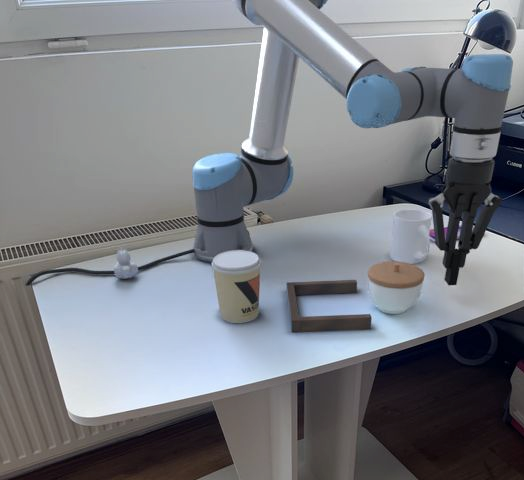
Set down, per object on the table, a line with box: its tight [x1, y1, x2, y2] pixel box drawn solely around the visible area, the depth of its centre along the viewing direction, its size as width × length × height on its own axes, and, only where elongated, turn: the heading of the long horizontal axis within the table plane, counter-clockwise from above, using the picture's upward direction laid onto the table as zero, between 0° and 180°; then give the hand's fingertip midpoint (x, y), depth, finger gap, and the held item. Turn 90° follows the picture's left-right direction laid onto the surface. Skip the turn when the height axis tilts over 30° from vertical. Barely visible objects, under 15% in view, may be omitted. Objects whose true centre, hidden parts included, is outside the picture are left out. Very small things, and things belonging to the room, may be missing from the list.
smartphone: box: [429, 224, 474, 243], centre depth 136 cm, size 7×1×15 cm
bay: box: [285, 279, 372, 333], centre depth 103 cm, size 15×17×2 cm
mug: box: [389, 208, 433, 265], centre depth 120 cm, size 9×12×11 cm
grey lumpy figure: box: [113, 245, 139, 280], centre depth 118 cm, size 5×7×8 cm
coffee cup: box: [211, 250, 262, 324], centre depth 100 cm, size 9×9×12 cm
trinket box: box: [367, 260, 425, 315], centre depth 101 cm, size 11×11×9 cm
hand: (450, 282), depth 101 cm, fingers closed
